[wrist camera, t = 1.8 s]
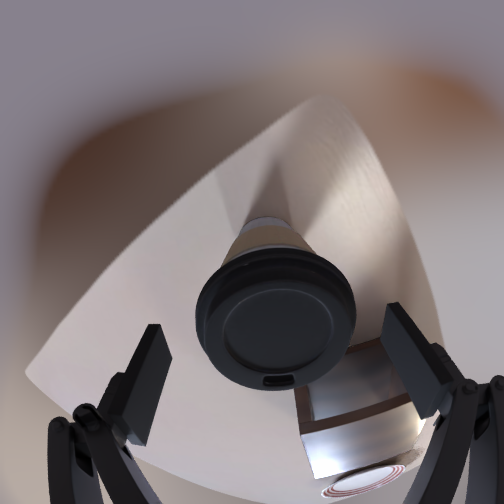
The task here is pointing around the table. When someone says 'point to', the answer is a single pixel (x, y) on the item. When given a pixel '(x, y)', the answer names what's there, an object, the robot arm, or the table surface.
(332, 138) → the table surface
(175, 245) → the table surface
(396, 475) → the dinner plate
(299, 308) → the coffee cup
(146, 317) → the table surface
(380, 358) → the wooden cubby box
